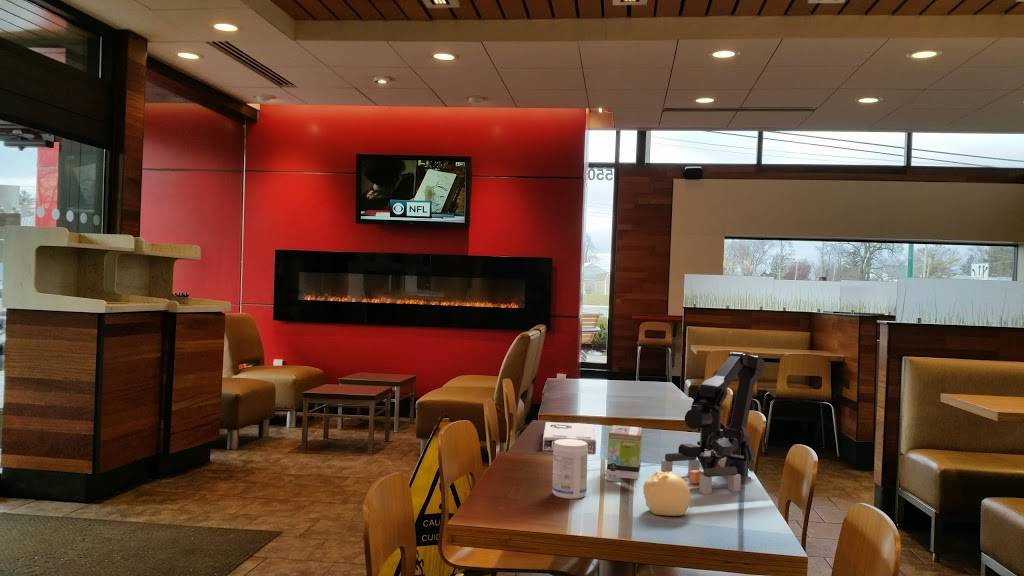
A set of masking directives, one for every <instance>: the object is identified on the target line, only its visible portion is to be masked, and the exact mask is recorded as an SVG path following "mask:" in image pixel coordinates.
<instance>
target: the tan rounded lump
mask: <svg viewBox="0 0 1024 576" xmlns="http://www.w3.org/2000/svg"><path fill="white" fill-rule="evenodd" d="M642 487H643V488H642V489H643V490H642V491H643V492H642V493H643V495H644V500H645V505H646V507H647V508H648V509H649V511H650V512H651V513H653V514H654V515H659V516H675V517H676V516H682V515H684V514H685V513H686V512H687V510H688V509H689V507H690V503H691V490H689V487H688V485H687V483H686V482H685V481H684V480H683V479H682V478H681V476H679V475H677V474H675V473H674V472H673V470H672V471H671V472H662V471H661V470H660V471H655V473H654V474H652V475H651V476H650V477H648V479H646V481H644V483H643V486H642Z"/></svg>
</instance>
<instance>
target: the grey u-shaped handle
mask: <svg viewBox="0 0 1024 576" xmlns="http://www.w3.org/2000/svg"><path fill="white" fill-rule="evenodd" d="M681 461H682V462H684V461H686V462H687V461H688V468H687V469H688V471H687V473H688V474H689V472H690V471H693V470H699V471H700V467H701V466H700V465H701V463H700V461H699V459H698V458H697V457H687V456H685V455H682V454H679V453H678V452H674V453H665V455H664V459H662V460H661V463H660V464H661V466H660V467H661V468H660V471H662V472H671V471H672V472H673V463H674V462H681Z"/></svg>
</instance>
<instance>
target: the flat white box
mask: <svg viewBox="0 0 1024 576" xmlns="http://www.w3.org/2000/svg"><path fill="white" fill-rule="evenodd" d="M560 439H576V440H582V441H585V442H586V443H587V450H588V452H587V454H588V453H589V454H591V453H592V454H597V438H596V433H595V428H594V424H588V423H572V422H569V423H568V422H551V421H546V422H545V425H544V431H543V438H542V451H551V452H553V448H554V442H555V441H556V440H560Z"/></svg>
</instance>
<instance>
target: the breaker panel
mask: <svg viewBox="0 0 1024 576" xmlns="http://www.w3.org/2000/svg"><path fill="white" fill-rule="evenodd" d="M680 477H681V476H680ZM681 478H682V479H683V480H684V481H685V482H686V483H687V485H688V487H689V490H690V491H699V483H693V482H691V481H689V476H685V477H684V476H682V477H681ZM724 488H726V489H727V486H725V485H723V484H720V483H718V482H715V481H713V480H712V489H724Z"/></svg>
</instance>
